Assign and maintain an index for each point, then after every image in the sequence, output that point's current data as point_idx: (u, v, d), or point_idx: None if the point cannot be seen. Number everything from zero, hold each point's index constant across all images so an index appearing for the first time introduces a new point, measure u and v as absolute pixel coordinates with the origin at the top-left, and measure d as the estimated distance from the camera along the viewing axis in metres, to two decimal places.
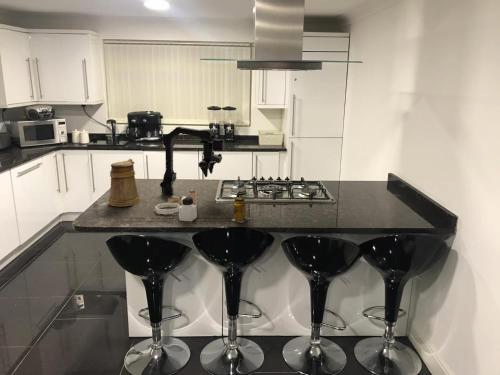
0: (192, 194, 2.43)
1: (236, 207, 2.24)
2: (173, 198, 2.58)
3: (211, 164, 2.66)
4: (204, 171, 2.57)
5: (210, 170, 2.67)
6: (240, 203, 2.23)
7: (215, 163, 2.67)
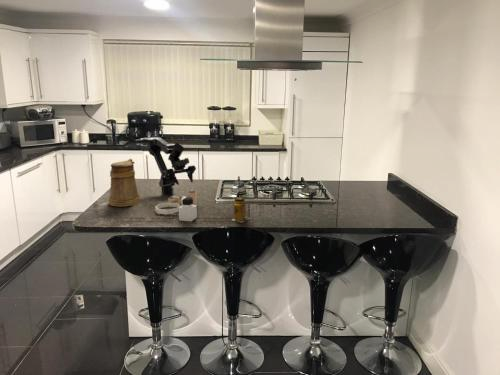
0: (192, 194, 2.43)
1: (236, 207, 2.24)
2: (173, 198, 2.58)
3: (189, 173, 2.55)
4: (173, 180, 2.48)
5: (190, 179, 2.53)
6: (240, 203, 2.23)
7: (192, 170, 2.54)
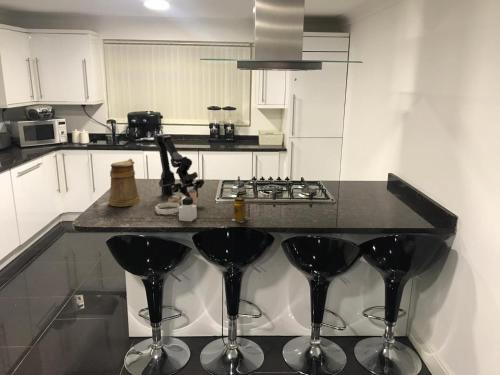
0: (192, 194, 2.43)
1: (236, 207, 2.24)
2: (173, 198, 2.58)
3: (194, 188, 2.48)
4: (185, 194, 2.44)
5: None
6: (240, 203, 2.23)
7: (197, 185, 2.47)
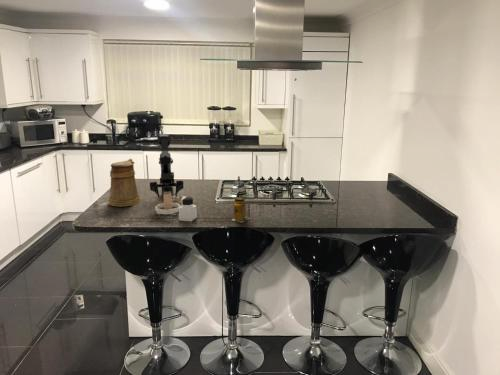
0: (165, 195, 2.38)
1: (236, 207, 2.24)
2: (173, 198, 2.58)
3: None
4: (156, 193, 2.40)
5: (175, 195, 2.41)
6: (240, 203, 2.23)
7: (177, 185, 2.41)
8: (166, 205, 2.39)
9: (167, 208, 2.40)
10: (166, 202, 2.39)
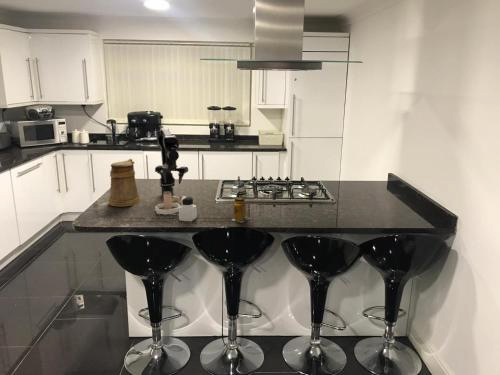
0: (165, 195, 2.38)
1: (236, 207, 2.24)
2: (173, 198, 2.58)
3: None
4: None
5: None
6: (240, 203, 2.23)
7: (179, 174, 2.45)
8: (166, 205, 2.39)
9: (167, 208, 2.40)
10: (166, 202, 2.39)
